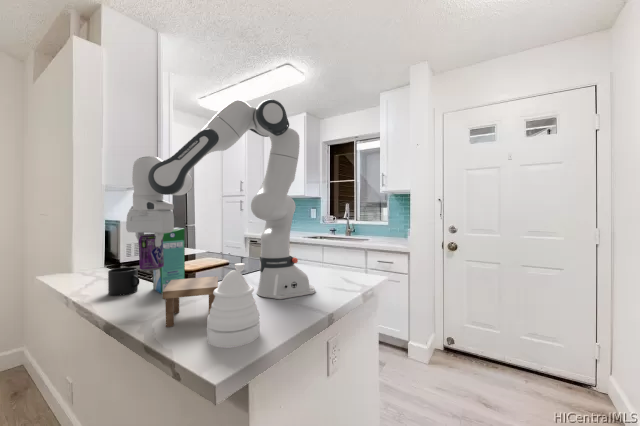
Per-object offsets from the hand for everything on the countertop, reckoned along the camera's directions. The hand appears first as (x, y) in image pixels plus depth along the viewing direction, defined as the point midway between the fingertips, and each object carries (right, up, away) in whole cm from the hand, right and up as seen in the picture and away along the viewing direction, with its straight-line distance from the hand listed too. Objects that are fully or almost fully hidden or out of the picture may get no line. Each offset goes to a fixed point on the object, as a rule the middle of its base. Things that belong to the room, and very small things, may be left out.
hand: (149, 246), depth 95 cm
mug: (-18, -20, +15) cm, 31 cm away
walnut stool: (+19, -20, -10) cm, 30 cm away
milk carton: (-4, -20, +20) cm, 29 cm away
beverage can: (+1, -8, 0) cm, 8 cm away
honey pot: (+36, -20, -23) cm, 47 cm away
